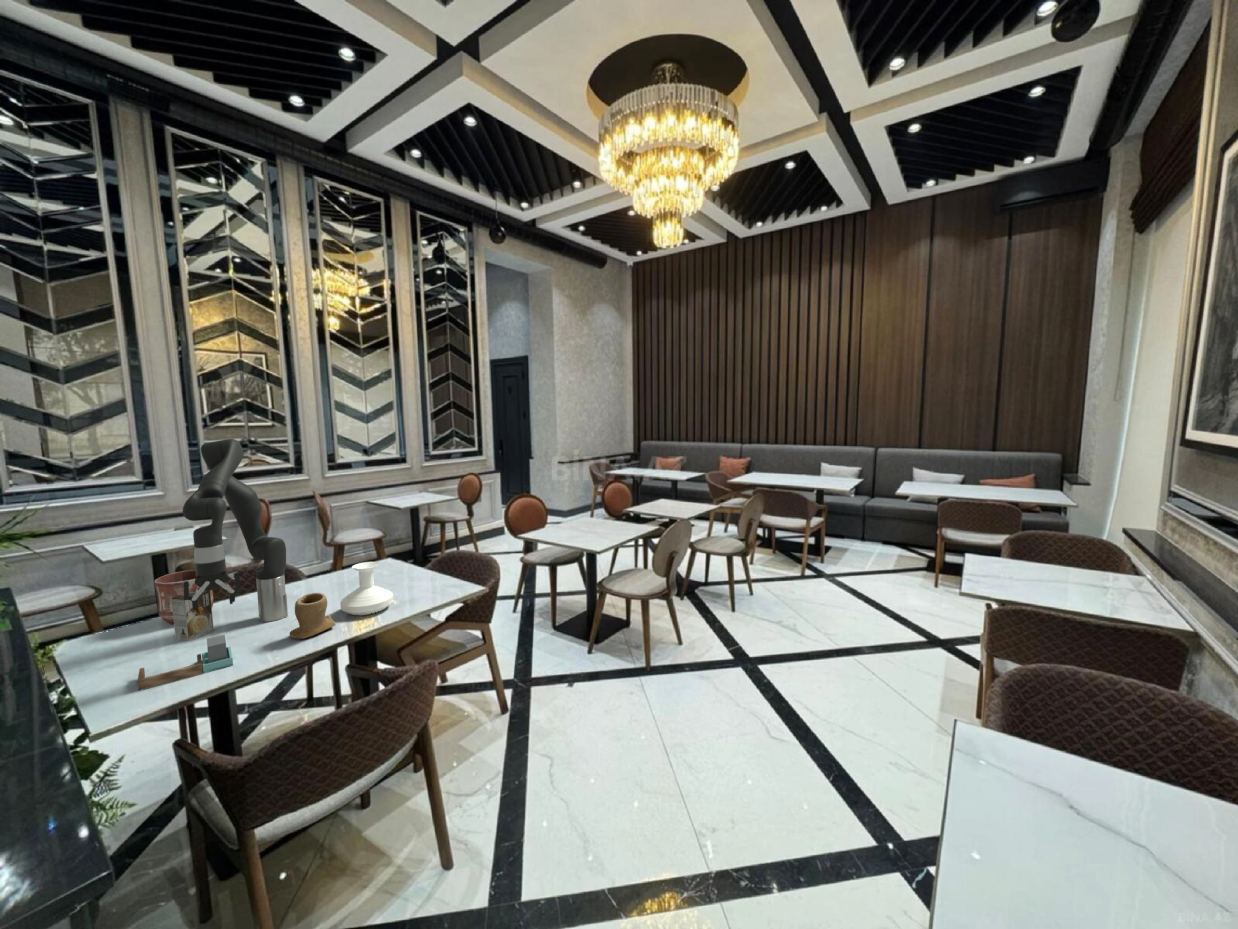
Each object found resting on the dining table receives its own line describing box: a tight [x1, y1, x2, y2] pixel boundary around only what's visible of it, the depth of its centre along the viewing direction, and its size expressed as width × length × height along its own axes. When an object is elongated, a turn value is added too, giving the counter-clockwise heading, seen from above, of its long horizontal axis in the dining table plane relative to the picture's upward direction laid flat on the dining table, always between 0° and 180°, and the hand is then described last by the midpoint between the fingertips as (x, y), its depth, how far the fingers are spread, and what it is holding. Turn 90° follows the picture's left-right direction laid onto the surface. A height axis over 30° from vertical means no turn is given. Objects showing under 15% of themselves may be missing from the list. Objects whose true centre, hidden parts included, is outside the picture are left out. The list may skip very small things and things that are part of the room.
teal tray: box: [201, 646, 234, 674], centre depth 158 cm, size 7×11×2 cm
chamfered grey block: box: [206, 634, 227, 663], centre depth 158 cm, size 5×8×7 cm, turn 42°
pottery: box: [153, 569, 214, 625], centre depth 194 cm, size 18×18×18 cm
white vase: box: [339, 561, 394, 616], centre depth 203 cm, size 20×20×19 cm
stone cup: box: [289, 592, 337, 640], centre depth 181 cm, size 15×12×15 cm
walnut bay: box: [137, 653, 203, 691], centre depth 150 cm, size 14×10×3 cm
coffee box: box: [172, 590, 215, 642], centre depth 179 cm, size 9×6×16 cm
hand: (214, 607), depth 157 cm, fingers open, 8 cm apart
